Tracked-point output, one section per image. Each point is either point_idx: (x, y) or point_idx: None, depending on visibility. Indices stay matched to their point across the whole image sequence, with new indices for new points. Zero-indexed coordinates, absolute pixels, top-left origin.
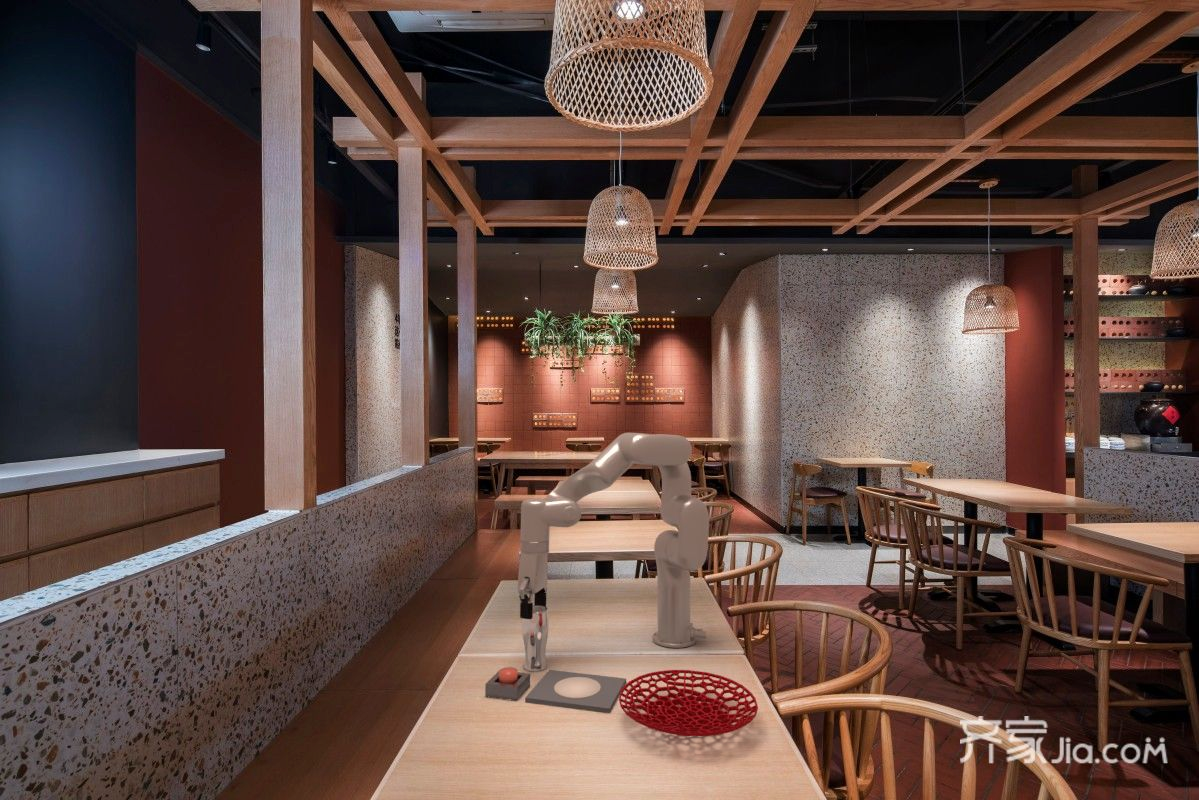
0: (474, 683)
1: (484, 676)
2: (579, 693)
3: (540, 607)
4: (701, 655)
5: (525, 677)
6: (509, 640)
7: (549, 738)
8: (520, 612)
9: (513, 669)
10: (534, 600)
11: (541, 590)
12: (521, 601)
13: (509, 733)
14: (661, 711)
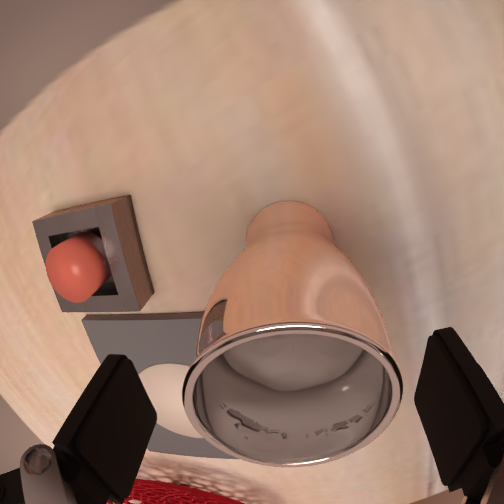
0: (94, 126)
1: (144, 118)
2: (161, 413)
3: (388, 397)
4: (425, 480)
5: (112, 308)
6: (467, 45)
7: (44, 383)
8: (92, 381)
9: (83, 285)
10: (458, 362)
11: (472, 488)
12: (28, 465)
13: (13, 328)
14: (177, 494)
